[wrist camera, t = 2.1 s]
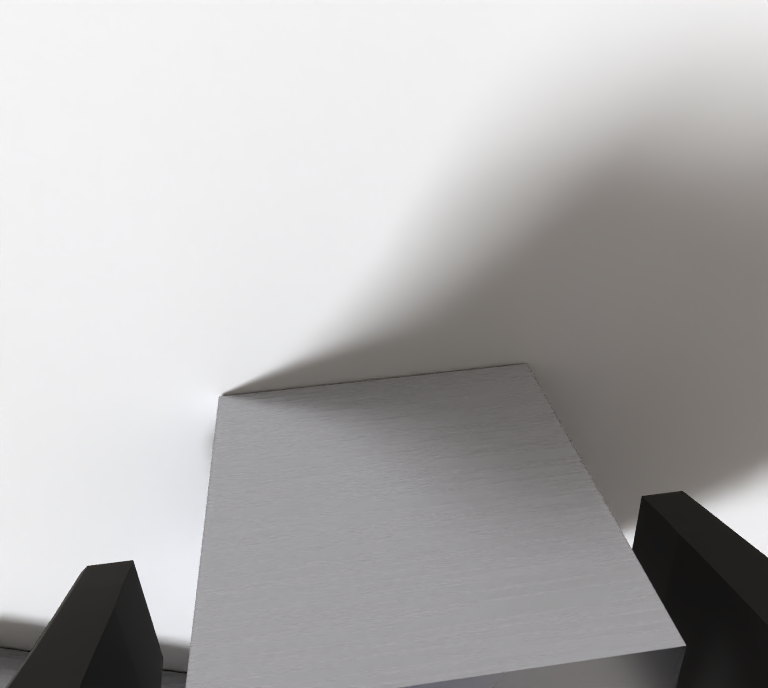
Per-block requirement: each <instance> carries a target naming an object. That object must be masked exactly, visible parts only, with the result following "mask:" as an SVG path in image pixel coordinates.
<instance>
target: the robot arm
mask: <svg viewBox="0 0 768 688" xmlns="http://www.w3.org/2000/svg"><path fill="white" fill-rule="evenodd" d="M632 550H633V552H634V554H635V556H636V558H637V559H638V561H639V563H640V565H641V566H642V568H643V570H644V572H645V573H646V575H647V577H648V579H649V581H650V582H651V584H652V586H653V588H654V589H655V591H656V593H657V595H658V596H659V598H660V600H661V602H662V604H663V605H664V607H665V609H666V611H667V612H668V614H669V616H670V618H671V619H672V621H673V623H674V625H675V627H676V628H677V630H678V632H679V634H680V635H681V637H682V639H683V641H684V642H685V644H686V649H685V653H684V657H683V661H682V665H681V669H680V673H679V676H678V680H677V684H676V688H768V557H766V556H765V555H764V554H763V553H761V552H760V551H759V550H757V549H756V548H755V547H754V546H752V545H751V544H750V543H748V542H747V541H746V540H745V539H743V538H742V537H741V536H739V535H738V534H737V533H736V532H734V531H733V530H732V529H731V528H729V527H728V526H727V525H726V524H724V523H723V522H722V521H720V520H719V519H718V518H717V517H715V516H714V515H713V514H712V513H710V512H709V511H708V510H706V509H705V508H704V507H703V506H701V505H700V504H699V503H697V502H696V501H695V500H694V499H692V498H691V497H690V496H688V495H687V494H686V493H684V492H683V491H679V492H671V493H663V494H655V495H647V496H642V499H641V504H640V510H639V515H638V521H637V526H636V532H635V537H634V543H633V548H632ZM162 665H163V656H162V652H161V649H160V646H159V643H158V639H157V636H156V633H155V630H154V626H153V623H152V620H151V617H150V613H149V610H148V607H147V604H146V600H145V597H144V594H143V591H142V587H141V584H140V581H139V578H138V574H137V571H136V568H135V565H134V561H133V560H131V561H123V562H115V563H107V564H99V565H91V566H87V567H86V568H85V569H84V570H83V571H82V572H81V574H80V575H79V577H78V578H77V580H76V582H75V583H74V585H73V586H72V588H71V589H70V591H69V593H68V594H67V596H66V597H65V599H64V600H63V602H62V604H61V605H60V607H59V608H58V610H57V611H56V613H55V615H54V616H53V618H52V619H51V621H50V622H49V624H48V625H47V627H46V629H45V630H44V632H43V633H42V635H41V636H40V638H39V639H38V641H37V642H36V644H35V645H34V647H33V648H32V650H31V651H30V653H29V654H28V656H27V657H26V659H25V660H24V662H23V663H22V665H21V666H20V668H19V669H18V671H17V672H16V674H15V675H14V676H13V678H12V679H11V681H10V682H9V684H8V685H7V686H6V688H161V680H162Z"/></svg>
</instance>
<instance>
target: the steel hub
mask: <svg viewBox="0 0 768 688" xmlns="http://www.w3.org/2000/svg"><path fill="white" fill-rule="evenodd" d="M685 649H686V644H685V642H684V641H683V639H682V637H681V635H680V634H679V632H678V630H677V628H676V627H675V625H674V623H673V621H672V619H671V618H670V616H669V614H668V612H667V611H666V609H665V607H664V605H663V604H662V602H661V600H660V598H659V596H658V595H657V593H656V591H655V589H654V588H653V586H652V584H651V582H650V581H649V579H648V577H647V575H646V573H645V572H644V570H643V568H642V566H641V565H640V563H639V561H638V559H637V558H636V556H635V554H634V552H633V550H632V549H631V547H630V545H629V543H628V542H627V540H626V538H625V536H624V535H623V533H622V531H621V529H620V527H619V526H618V524H617V522H616V520H615V519H614V517H613V515H612V513H611V512H610V510H609V508H608V506H607V504H606V503H605V501H604V499H603V497H602V496H601V494H600V492H599V490H598V489H597V487H596V485H595V483H594V481H593V480H592V478H591V476H590V474H589V473H588V471H587V469H586V467H585V466H584V464H583V462H582V460H581V458H580V457H579V455H578V453H577V451H576V450H575V448H574V446H573V444H572V443H571V441H570V439H569V437H568V435H567V434H566V432H565V430H564V428H563V427H562V425H561V423H560V421H559V420H558V418H557V416H556V414H555V413H554V411H553V409H552V407H551V405H550V404H549V402H548V400H547V398H546V397H545V395H544V393H543V391H542V390H541V388H540V386H539V384H538V382H537V381H536V379H535V377H534V375H533V374H532V372H531V370H530V368H529V367H528V365H527V364H518V365H509V366H500V367H490V368H481V369H472V370H462V371H453V372H444V373H434V374H425V375H416V376H407V377H397V378H388V379H379V380H369V381H360V382H351V383H341V384H332V385H323V386H314V387H304V388H295V389H286V390H276V391H267V392H258V393H248V394H239V395H230V396H220V397H219V401H218V409H217V418H216V427H215V435H214V444H213V453H212V462H211V470H210V479H209V488H208V496H207V505H206V514H205V523H204V531H203V540H202V549H201V557H200V566H199V575H198V584H197V592H196V601H195V610H194V618H193V627H192V636H191V645H190V653H189V662H188V671H187V679H186V688H676V684H677V680H678V676H679V673H680V669H681V665H682V661H683V657H684V653H685Z"/></svg>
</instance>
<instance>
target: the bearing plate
mask: <svg viewBox="0 0 768 688" xmlns="http://www.w3.org/2000/svg"><path fill="white" fill-rule="evenodd" d="M29 653H30V652H25V651H18V650H11V649H4V648H0V688H6V686H7V685H8V684H9V682H10V681H11V679H12V678H13V676H14V675H15V674H16V672H17V671H18V669H19V668H20V666H21V665H22V663H23V662H24V660H25V659H26V657H27V656H28V654H29ZM186 679H187V674H184V673H177V672H170V671H162V680H161V688H186Z"/></svg>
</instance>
